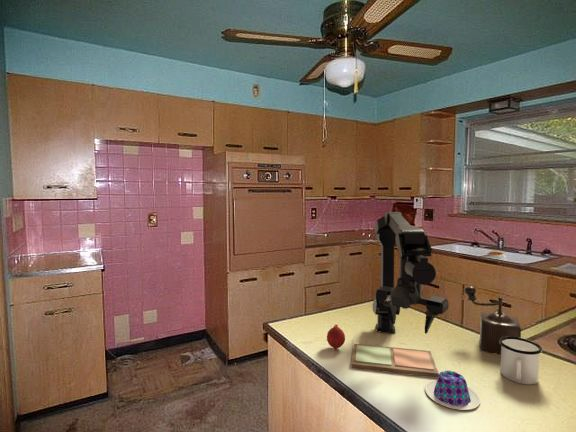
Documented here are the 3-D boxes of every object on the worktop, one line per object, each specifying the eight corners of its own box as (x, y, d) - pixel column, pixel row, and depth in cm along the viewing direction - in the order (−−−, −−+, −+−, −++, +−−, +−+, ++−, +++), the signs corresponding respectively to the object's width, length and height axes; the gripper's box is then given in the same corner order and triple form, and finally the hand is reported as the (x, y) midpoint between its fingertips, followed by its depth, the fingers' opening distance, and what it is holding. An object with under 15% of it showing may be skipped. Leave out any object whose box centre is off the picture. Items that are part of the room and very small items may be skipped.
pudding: (462, 382, 87) (463, 363, 86) (491, 412, 75) (491, 390, 74) (417, 383, 87) (417, 363, 86) (438, 413, 75) (438, 391, 74)
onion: (344, 354, 102) (344, 329, 101) (326, 352, 103) (326, 327, 103) (345, 345, 108) (345, 321, 107) (327, 344, 109) (327, 320, 108)
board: (353, 347, 106) (353, 342, 106) (430, 354, 101) (430, 350, 101) (351, 367, 94) (351, 362, 94) (438, 377, 88) (438, 372, 88)
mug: (499, 363, 95) (500, 333, 95) (540, 373, 90) (541, 341, 89) (495, 383, 86) (496, 349, 85) (541, 396, 80) (543, 360, 79)
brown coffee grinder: (516, 343, 107) (518, 289, 106) (521, 359, 98) (523, 299, 96) (462, 334, 115) (463, 283, 114) (462, 347, 105) (463, 292, 104)
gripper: (365, 274, 91) (365, 328, 93) (436, 287, 79) (434, 349, 80) (383, 266, 100) (383, 316, 101) (449, 277, 87) (448, 334, 89)
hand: (409, 328), depth 93 cm, fingers open, 9 cm apart
